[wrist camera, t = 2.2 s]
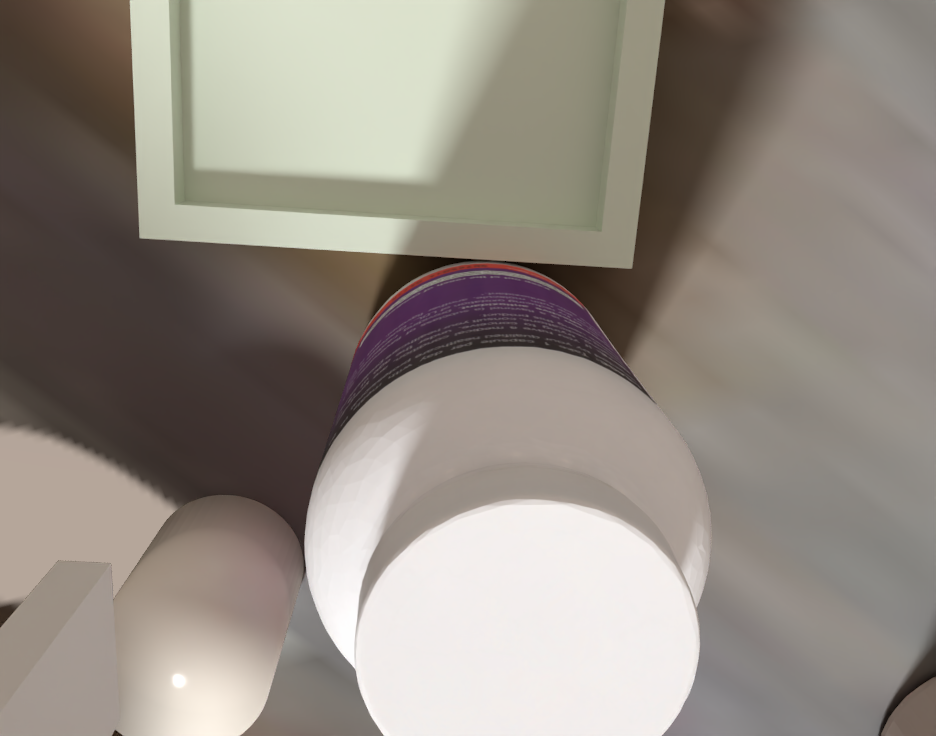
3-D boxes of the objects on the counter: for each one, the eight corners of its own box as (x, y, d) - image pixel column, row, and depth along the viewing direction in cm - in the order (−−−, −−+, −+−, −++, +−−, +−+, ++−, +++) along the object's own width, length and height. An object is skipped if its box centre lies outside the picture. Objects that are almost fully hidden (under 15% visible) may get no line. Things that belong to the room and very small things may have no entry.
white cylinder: (155, 625, 30) (87, 749, 24) (150, 491, 28) (76, 589, 22) (303, 631, 30) (269, 755, 24) (305, 498, 28) (270, 597, 23)
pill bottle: (300, 362, 27) (153, 628, 13) (502, 199, 26) (573, 303, 12) (462, 541, 29) (482, 935, 15) (657, 398, 28) (873, 685, 14)
